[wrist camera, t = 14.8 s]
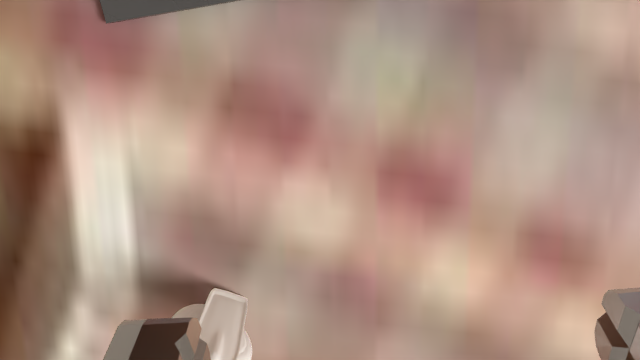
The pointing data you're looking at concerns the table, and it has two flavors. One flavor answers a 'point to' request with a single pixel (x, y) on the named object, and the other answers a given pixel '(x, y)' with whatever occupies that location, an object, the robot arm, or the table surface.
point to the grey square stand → (149, 7)
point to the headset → (222, 324)
